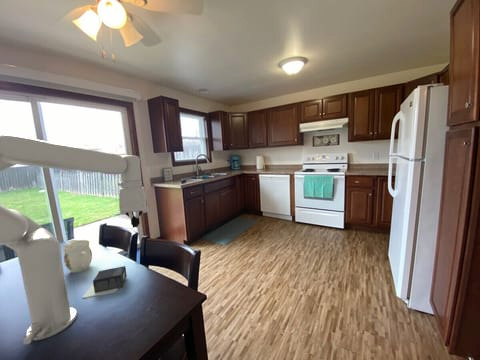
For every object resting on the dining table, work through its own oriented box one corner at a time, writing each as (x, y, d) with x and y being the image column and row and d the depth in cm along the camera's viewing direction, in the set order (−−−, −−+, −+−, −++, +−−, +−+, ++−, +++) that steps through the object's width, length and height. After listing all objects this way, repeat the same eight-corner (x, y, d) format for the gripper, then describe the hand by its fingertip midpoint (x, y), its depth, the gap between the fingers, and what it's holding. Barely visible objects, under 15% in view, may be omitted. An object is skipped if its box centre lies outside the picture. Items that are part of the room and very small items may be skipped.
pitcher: (75, 280, 94) (70, 252, 93) (61, 270, 104) (56, 244, 103) (101, 269, 103) (97, 243, 102) (86, 260, 113) (82, 236, 112)
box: (127, 277, 94) (100, 282, 91) (125, 265, 94) (99, 270, 91) (122, 287, 87) (94, 293, 84) (121, 275, 86) (92, 280, 83)
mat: (116, 292, 85) (115, 291, 85) (82, 298, 82) (82, 297, 82) (124, 275, 96) (124, 275, 96) (95, 281, 93) (95, 280, 93)
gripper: (109, 186, 82) (113, 231, 84) (149, 184, 86) (152, 227, 87) (115, 184, 89) (119, 225, 91) (152, 182, 93) (155, 222, 95)
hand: (135, 226), depth 89 cm, fingers closed
